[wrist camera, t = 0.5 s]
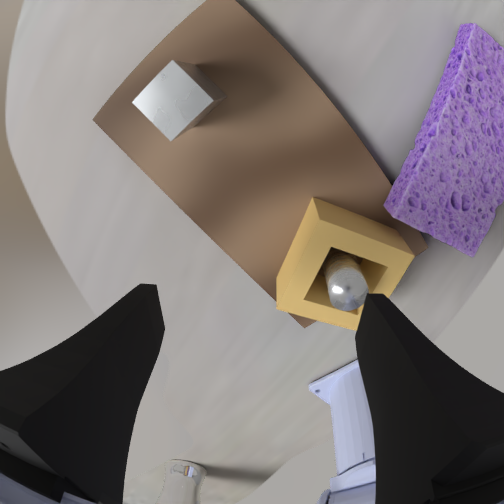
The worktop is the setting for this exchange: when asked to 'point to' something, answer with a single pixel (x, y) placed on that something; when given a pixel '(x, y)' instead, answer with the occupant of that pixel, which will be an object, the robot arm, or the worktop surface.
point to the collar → (349, 240)
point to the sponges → (458, 149)
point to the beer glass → (182, 483)
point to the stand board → (248, 146)
